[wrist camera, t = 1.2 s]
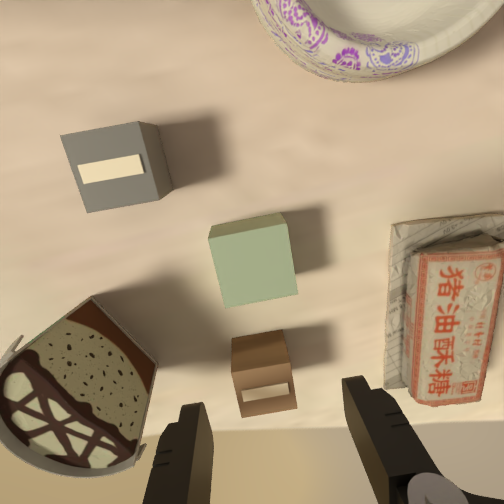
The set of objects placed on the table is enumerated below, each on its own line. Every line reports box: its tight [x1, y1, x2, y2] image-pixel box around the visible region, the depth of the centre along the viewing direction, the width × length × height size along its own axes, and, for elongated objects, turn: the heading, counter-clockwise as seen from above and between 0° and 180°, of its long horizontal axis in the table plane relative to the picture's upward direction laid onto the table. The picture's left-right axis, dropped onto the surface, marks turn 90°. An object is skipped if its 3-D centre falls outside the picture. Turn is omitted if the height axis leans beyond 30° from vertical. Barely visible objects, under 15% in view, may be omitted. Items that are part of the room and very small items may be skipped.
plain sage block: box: [208, 213, 298, 308], centre depth 26 cm, size 6×6×4 cm
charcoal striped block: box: [60, 121, 173, 213], centre depth 23 cm, size 5×5×5 cm
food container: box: [0, 296, 158, 478], centre depth 26 cm, size 12×6×10 cm, turn 35°
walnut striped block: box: [231, 330, 297, 418], centre depth 29 cm, size 5×5×5 cm
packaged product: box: [384, 214, 504, 407], centre depth 29 cm, size 18×5×10 cm
